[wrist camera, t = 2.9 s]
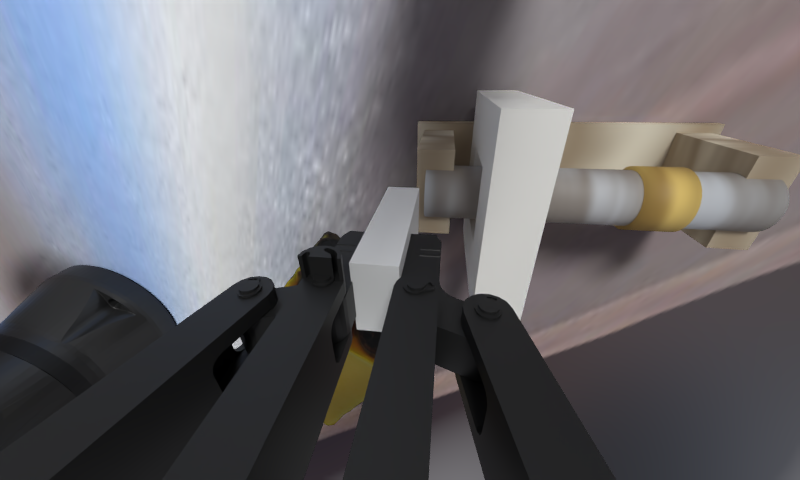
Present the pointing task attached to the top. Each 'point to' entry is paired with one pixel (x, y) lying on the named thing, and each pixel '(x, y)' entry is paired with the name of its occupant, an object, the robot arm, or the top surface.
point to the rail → (621, 156)
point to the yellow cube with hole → (348, 358)
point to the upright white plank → (512, 189)
